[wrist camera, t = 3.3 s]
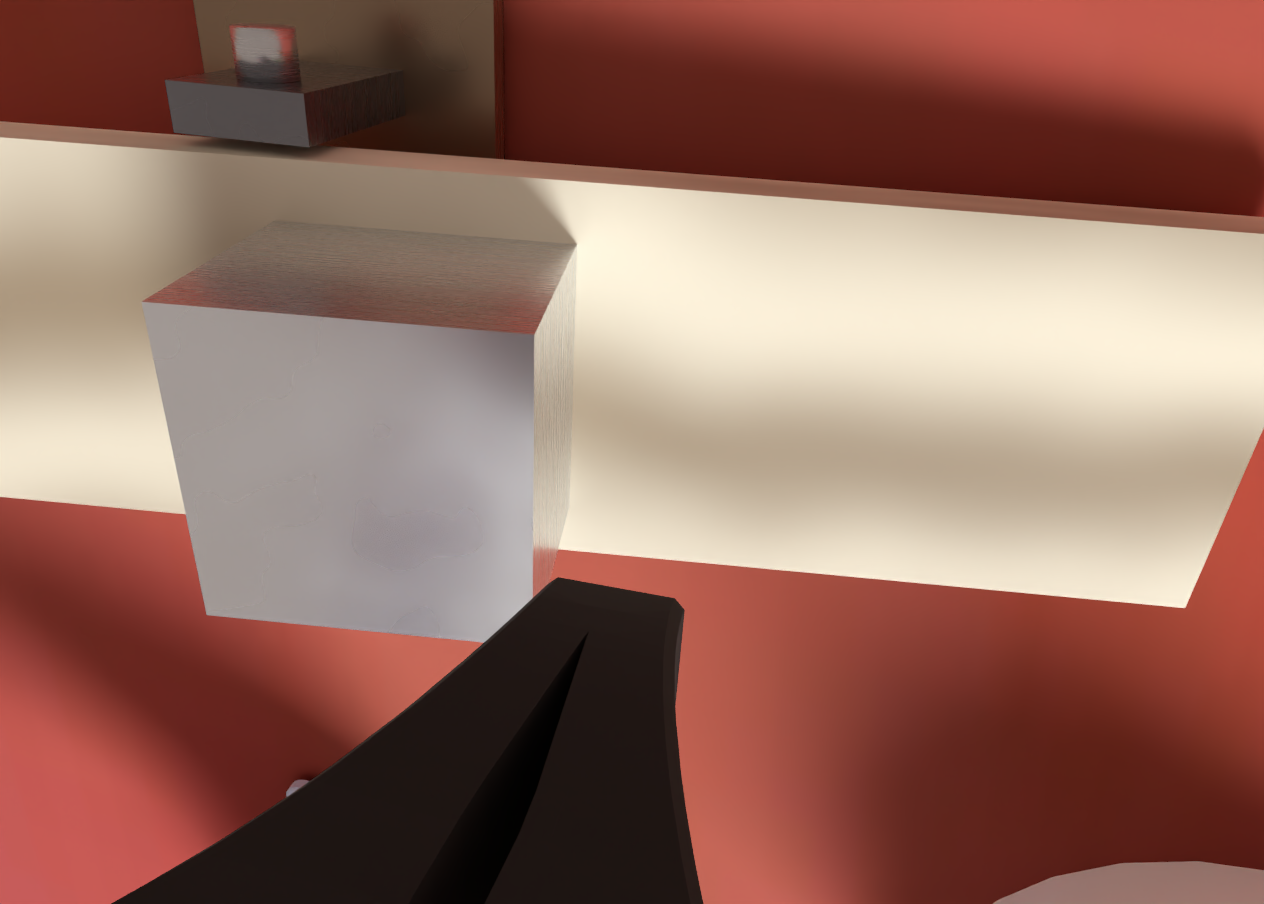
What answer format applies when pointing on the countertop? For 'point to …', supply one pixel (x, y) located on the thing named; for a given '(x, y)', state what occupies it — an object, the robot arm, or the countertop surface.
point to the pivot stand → (348, 75)
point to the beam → (713, 353)
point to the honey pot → (1148, 885)
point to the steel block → (371, 424)
